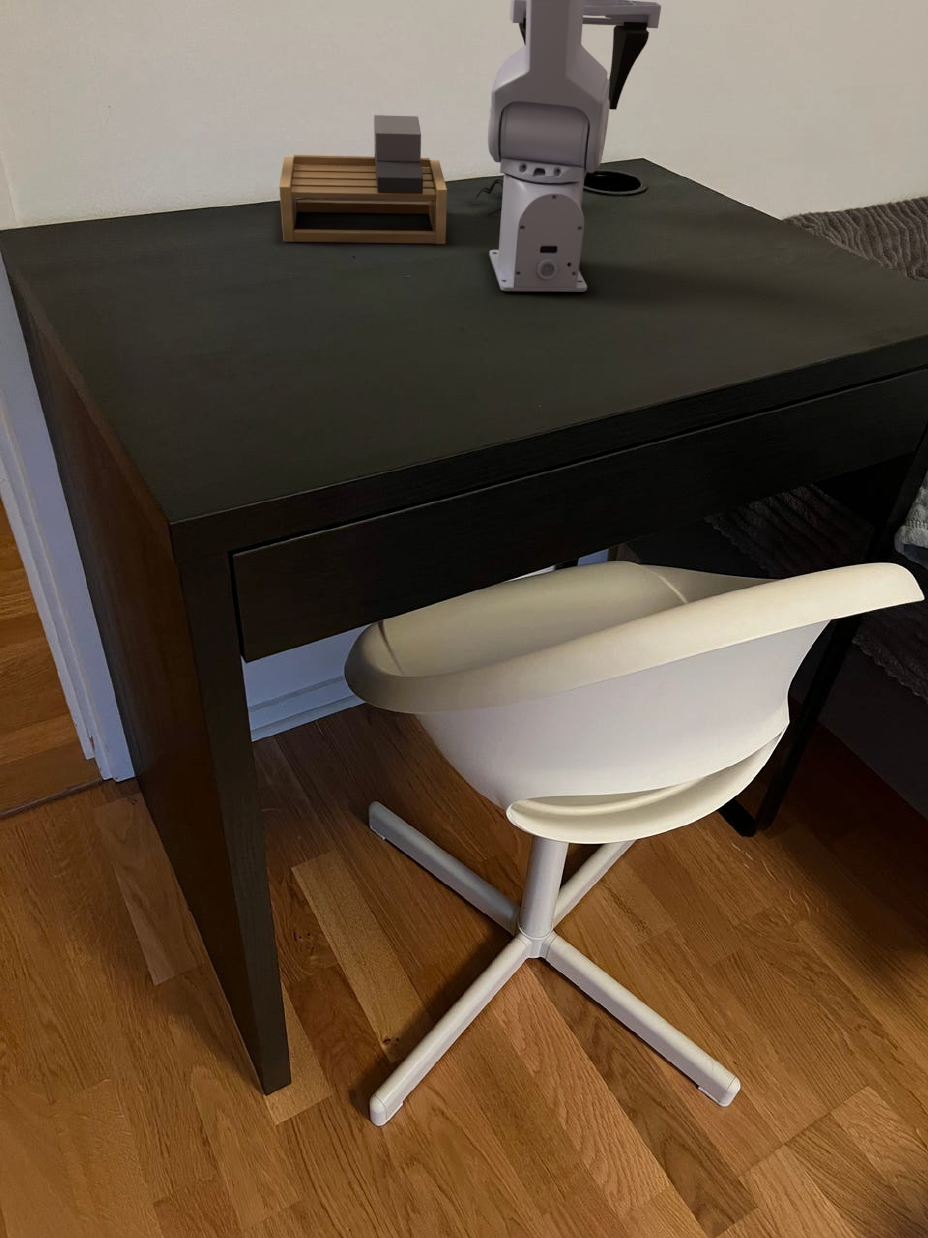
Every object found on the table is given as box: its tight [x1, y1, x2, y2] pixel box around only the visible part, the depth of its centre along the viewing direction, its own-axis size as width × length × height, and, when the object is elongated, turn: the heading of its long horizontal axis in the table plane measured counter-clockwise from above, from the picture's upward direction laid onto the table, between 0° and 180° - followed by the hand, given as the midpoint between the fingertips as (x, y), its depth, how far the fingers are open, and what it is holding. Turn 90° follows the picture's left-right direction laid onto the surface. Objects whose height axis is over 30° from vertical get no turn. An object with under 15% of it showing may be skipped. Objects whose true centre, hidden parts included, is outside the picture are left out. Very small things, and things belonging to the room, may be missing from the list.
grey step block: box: [373, 114, 423, 193], centre depth 93 cm, size 9×4×4 cm, turn 6°
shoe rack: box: [278, 154, 448, 245], centre depth 96 cm, size 10×16×5 cm, turn 96°
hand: (574, 106), depth 98 cm, fingers open, 7 cm apart
